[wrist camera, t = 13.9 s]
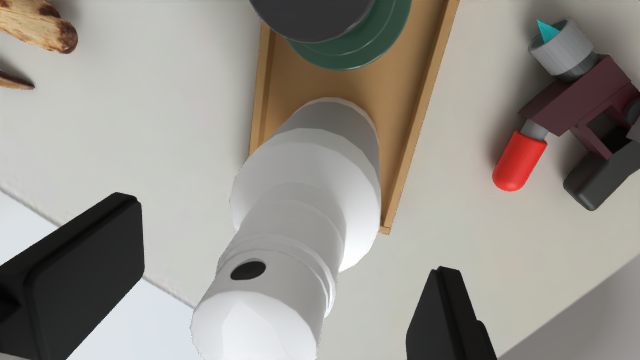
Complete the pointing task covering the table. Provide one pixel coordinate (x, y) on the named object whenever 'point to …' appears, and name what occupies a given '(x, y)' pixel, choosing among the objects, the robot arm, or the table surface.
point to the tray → (362, 91)
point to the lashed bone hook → (35, 31)
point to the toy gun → (576, 117)
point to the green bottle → (336, 28)
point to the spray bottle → (293, 235)
